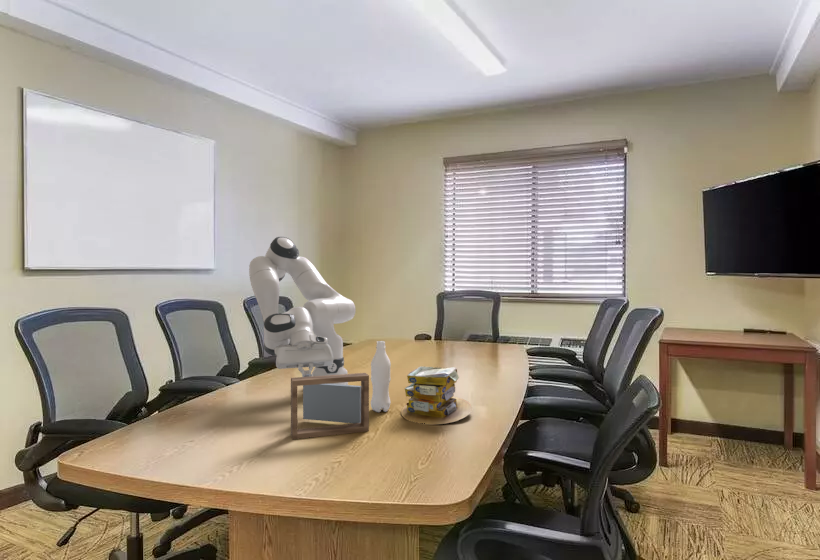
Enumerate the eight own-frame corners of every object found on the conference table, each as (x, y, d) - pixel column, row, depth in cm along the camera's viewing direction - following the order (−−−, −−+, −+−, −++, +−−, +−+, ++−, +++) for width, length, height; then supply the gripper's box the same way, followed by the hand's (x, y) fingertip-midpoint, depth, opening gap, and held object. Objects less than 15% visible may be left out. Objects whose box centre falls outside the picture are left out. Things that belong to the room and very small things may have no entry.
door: (305, 417, 169) (305, 382, 169) (361, 422, 164) (361, 386, 164) (303, 419, 168) (303, 383, 167) (359, 424, 162) (359, 387, 162)
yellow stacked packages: (442, 430, 160) (442, 378, 160) (386, 414, 177) (387, 367, 176) (485, 414, 178) (485, 367, 178) (431, 401, 195) (431, 358, 194)
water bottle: (393, 408, 184) (393, 340, 183) (386, 414, 177) (386, 343, 177) (375, 407, 186) (375, 339, 186) (367, 412, 179) (367, 342, 179)
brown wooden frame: (290, 434, 155) (290, 377, 154) (365, 426, 163) (365, 372, 162) (292, 439, 150) (292, 380, 150) (368, 430, 159) (368, 375, 158)
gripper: (274, 340, 180) (276, 372, 171) (331, 338, 187) (336, 369, 178) (273, 350, 184) (275, 382, 175) (329, 348, 191) (333, 379, 182)
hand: (306, 376), depth 177 cm, fingers closed
